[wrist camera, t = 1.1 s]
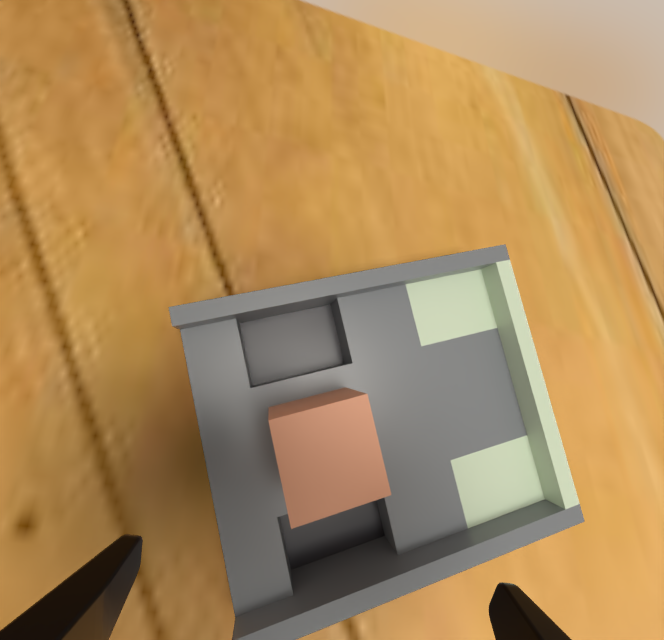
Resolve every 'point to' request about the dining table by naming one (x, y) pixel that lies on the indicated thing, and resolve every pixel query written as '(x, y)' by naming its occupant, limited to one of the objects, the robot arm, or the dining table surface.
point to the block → (327, 454)
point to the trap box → (392, 430)
